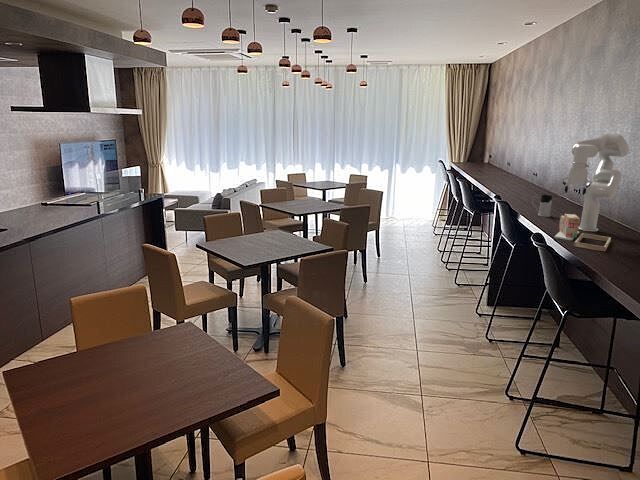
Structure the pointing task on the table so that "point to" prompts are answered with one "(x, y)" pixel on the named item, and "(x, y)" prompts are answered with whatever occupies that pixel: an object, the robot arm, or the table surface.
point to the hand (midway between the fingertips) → (574, 193)
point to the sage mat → (562, 236)
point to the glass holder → (544, 205)
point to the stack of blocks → (569, 225)
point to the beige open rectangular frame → (589, 246)
